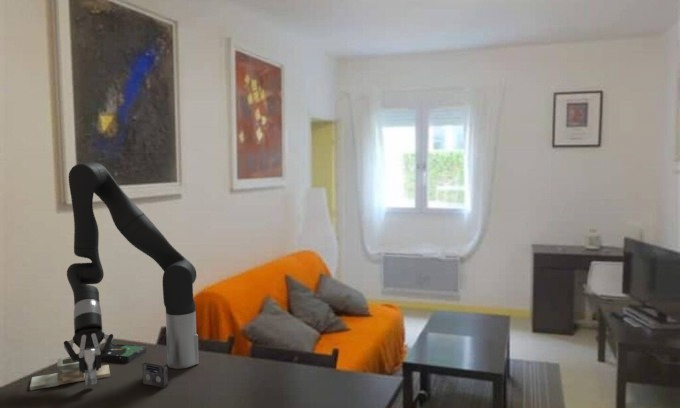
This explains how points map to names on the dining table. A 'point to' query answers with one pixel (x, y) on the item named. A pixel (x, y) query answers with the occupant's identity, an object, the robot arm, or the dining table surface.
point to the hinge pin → (90, 366)
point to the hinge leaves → (65, 374)
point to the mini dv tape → (155, 375)
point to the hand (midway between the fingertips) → (90, 370)
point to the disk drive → (123, 353)
